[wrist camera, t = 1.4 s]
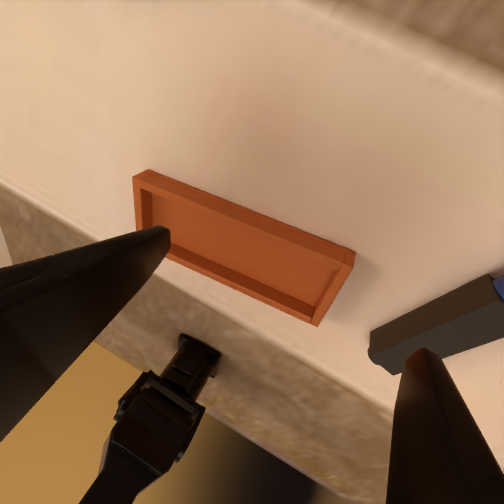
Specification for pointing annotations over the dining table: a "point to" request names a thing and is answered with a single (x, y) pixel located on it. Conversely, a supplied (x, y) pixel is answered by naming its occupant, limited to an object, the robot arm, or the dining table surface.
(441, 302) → the marker
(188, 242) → the pen tray
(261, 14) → the dining table surface
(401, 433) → the robot arm
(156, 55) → the dining table surface
